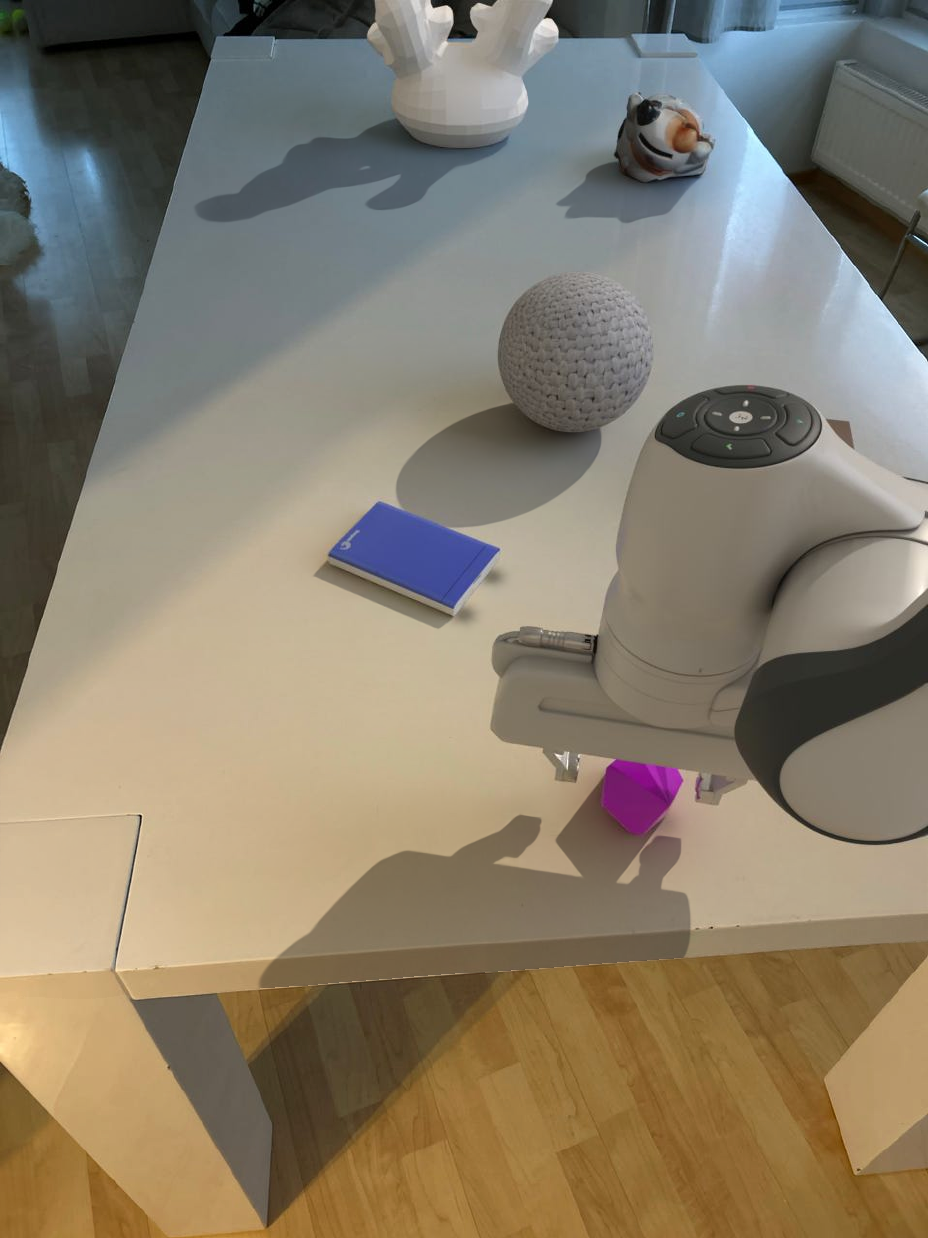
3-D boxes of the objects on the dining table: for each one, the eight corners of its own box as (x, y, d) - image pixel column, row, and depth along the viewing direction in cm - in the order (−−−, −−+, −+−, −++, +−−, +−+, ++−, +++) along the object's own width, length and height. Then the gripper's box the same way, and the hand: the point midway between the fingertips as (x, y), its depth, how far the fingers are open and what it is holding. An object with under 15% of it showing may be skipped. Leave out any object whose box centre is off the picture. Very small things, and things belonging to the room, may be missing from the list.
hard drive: (327, 551, 81) (453, 605, 77) (379, 498, 85) (500, 546, 82) (328, 565, 82) (453, 618, 78) (380, 511, 87) (499, 559, 83)
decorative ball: (537, 478, 90) (551, 337, 79) (470, 397, 100) (473, 260, 89) (669, 440, 95) (699, 301, 84) (593, 366, 104) (610, 232, 93)
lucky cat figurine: (721, 166, 142) (748, 94, 129) (675, 221, 140) (698, 153, 126) (640, 114, 145) (658, 38, 131) (593, 167, 142) (607, 95, 129)
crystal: (681, 790, 67) (694, 752, 63) (656, 851, 63) (668, 815, 60) (612, 762, 68) (621, 723, 65) (584, 820, 65) (592, 783, 62)
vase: (371, 159, 142) (357, -136, 116) (370, 106, 157) (357, -166, 132) (561, 157, 144) (588, -134, 118) (542, 105, 159) (562, -163, 134)
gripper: (485, 664, 53) (476, 799, 63) (861, 720, 51) (789, 850, 61) (501, 586, 57) (490, 724, 67) (848, 634, 55) (783, 769, 65)
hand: (635, 784), depth 64 cm, fingers open, 8 cm apart
